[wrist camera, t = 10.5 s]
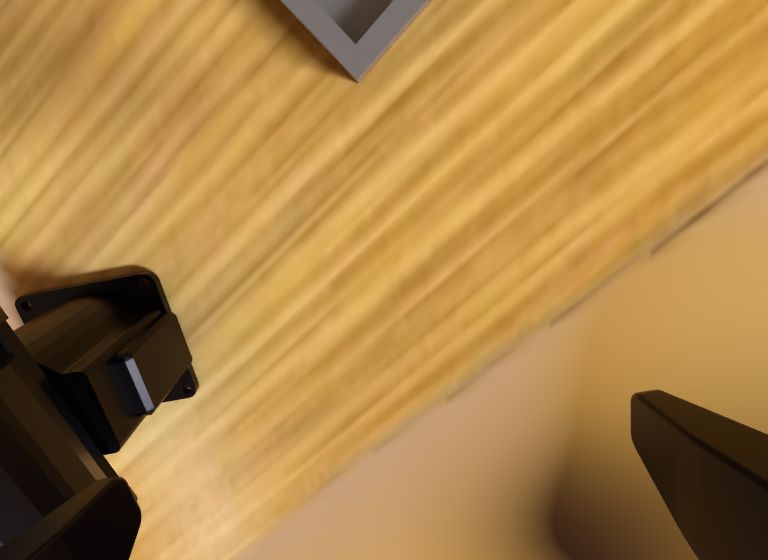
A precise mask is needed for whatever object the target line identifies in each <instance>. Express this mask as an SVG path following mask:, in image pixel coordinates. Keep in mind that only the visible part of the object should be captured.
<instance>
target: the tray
mask: <svg viewBox="0 0 768 560" xmlns="http://www.w3.org/2000/svg"><path fill="white" fill-rule="evenodd" d="M279 1H280V2H281V3H282V4H283V5H284V6H285V7H286V8H287V9H288V10H289V11H290V12H291V13H292V14H293V15H294V16H295V18H296V19H297V20H298V21H299V22H300V23H301V24H302V25H303V26H304V27H305V28H306V29H307V30H308V31H309V32H310V33H311V34H312V35H313V36H314V37H315V38H316V40H317V41H318V42H319V43H320V44H321V45H322V46H323V47H324V48H325V49H326V50H327V51H328V52H329V53H330V54H331V55H332V56H333V57H334V58H335V59H336V60H337V62H338V63H339V64H340V65H341V66H342V67H343V68H344V69H345V70H346V71H347V72H348V73H349V74H350V75H351V76H352V77H353V78H354V79H355V80H356V81H357V82H358V83H359V82H360V81H361V80H362V79H363V78H364V77H365V75H366V74H367V73H368V72H369V71H370V70H371V69H372V67H373V66H374V65H375V64H376V63H377V62H378V61H379V60H380V58H381V57H382V56H383V55H384V54H385V53H386V52H387V50H388V49H389V48H390V47H391V46H392V45H393V44H394V43H395V41H396V40H397V39H398V38H399V37H400V36H401V35H402V33H403V32H404V31H405V30H406V29H407V28H408V27H409V26H410V24H411V23H412V22H413V21H414V20H415V19H416V18H417V17H418V15H419V14H420V13H421V12H422V11H423V10H424V9H425V7H426V6H427V5H428V4H429V3H430V2H431V1H432V0H279Z"/></svg>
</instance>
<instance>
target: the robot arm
mask: <svg viewBox="0 0 768 560" xmlns="http://www.w3.org/2000/svg"><path fill="white" fill-rule="evenodd" d="M143 279H146V280H148V281H149V283H150V287H148V286H146V285H145V284H144V283H143ZM27 302H29V303H31V305H32V307H33V308H32V307H30V306H29V305H28V303H27ZM15 306H16V309H17V311H18V313H19V315H20V317H21V319H22V321H23V323H24V325H23V326H21V327H19V328H18V329H16V330H14V331H13V330H12V328H11V327H10V326H9V324H8V323H7V322H6V320H7V319H8V316H7V315H6V314H5V312H4V311H3V309H2V308H1V307H0V560H129V558H130V555H131V552H132V549H133V546H134V543H135V540H136V537H137V534H138V531H139V528H140V524H141V510H140V507H139V505H138V503H137V499H138V498H137V496H136V494H135V493H134V492H133V490H132V489H131V487H129V485H128V483H127V481H126V480H125V479H124V478H122V477H119V476H118V475H117V474H116V472H115V471H114V469H113V468H112V467H111V465H110V464H109V463H108V461H107V460H106V458H105V457H104V455H106V454H112V453H116V452H119V450H120V449H121V448H122V447H123V445H124V444H125V443H126V441H127V440H128V439H129V437H130V436H131V435H132V434H133V432H134V431H135V430H136V428H137V427H138V426H139V425H140V423H141V422H142V421H143V419H144V418H145V417H146V416H147V415H152V414H153V413H154V412H155V410H156V409H157V408H158V406H159V405H160V404H161V403H162V402H168V401H174V400H179V399H185V398H190V397H192V396H194V395H195V393H196V392H197V390H198V388H199V383H198V380H197V377H196V375H195V372H194V369H193V367H192V364H191V362H192V356H191V354H190V351H189V348H188V346H187V343H186V340H185V338H184V335H183V333H182V330H181V327H180V325H179V322H178V319H177V317H176V315H175V314H174V313H173V312H172V311H171V309H170V306H169V304H168V301H167V298H166V296H165V293H164V290H163V288H162V285H161V282H160V280H159V278H158V276H157V275H156V274H154V273H153V272H150V271H142V272H137V273H132V274H126V275H121V276H116V277H110V278H105V279H100V280H94V281H89V282H84V283H79V284H73V285H68V286H63V287H57V288H52V289H47V290H41V291H36V292H31V293H27V294H25V295H23V296H21V297H19V298H17V300H16V301H15ZM184 385H188V386H189V387H190V388H191V389H187V388H185V387H184ZM631 437H632V441H633V444H634V446H635V448H636V450H637V452H638V454H639V456H640V457H641V460H642V461H643V463H644V465H645V467H646V469H647V471H648V472H649V474H650V476H651V478H652V480H653V482H654V484H655V485H656V487H657V489H658V491H659V493H660V495H661V496H662V498H663V500H664V502H665V504H666V506H667V508H668V509H669V511H670V513H671V515H672V517H673V519H674V520H675V522H676V524H677V526H678V527H679V529H680V531H681V533H682V534H683V536H684V538H685V539H686V541H687V542H688V544H689V545H690V547H691V549H692V550H693V552H694V553H695V555H696V556H697V558H698V559H699V560H768V434H765V433H763V432H761V431H758V430H756V429H753V428H751V427H748V426H746V425H744V424H741V423H739V422H736V421H734V420H731V419H729V418H727V417H724V416H722V415H719V414H717V413H714V412H712V411H710V410H707V409H705V408H702V407H700V406H697V405H695V404H693V403H690V402H688V401H685V400H683V399H681V398H678V397H676V396H673V395H671V394H668V393H666V392H664V391H661V390H650V391H644V392H638V393H635V394H634V395H633V396H632V398H631Z"/></svg>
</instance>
